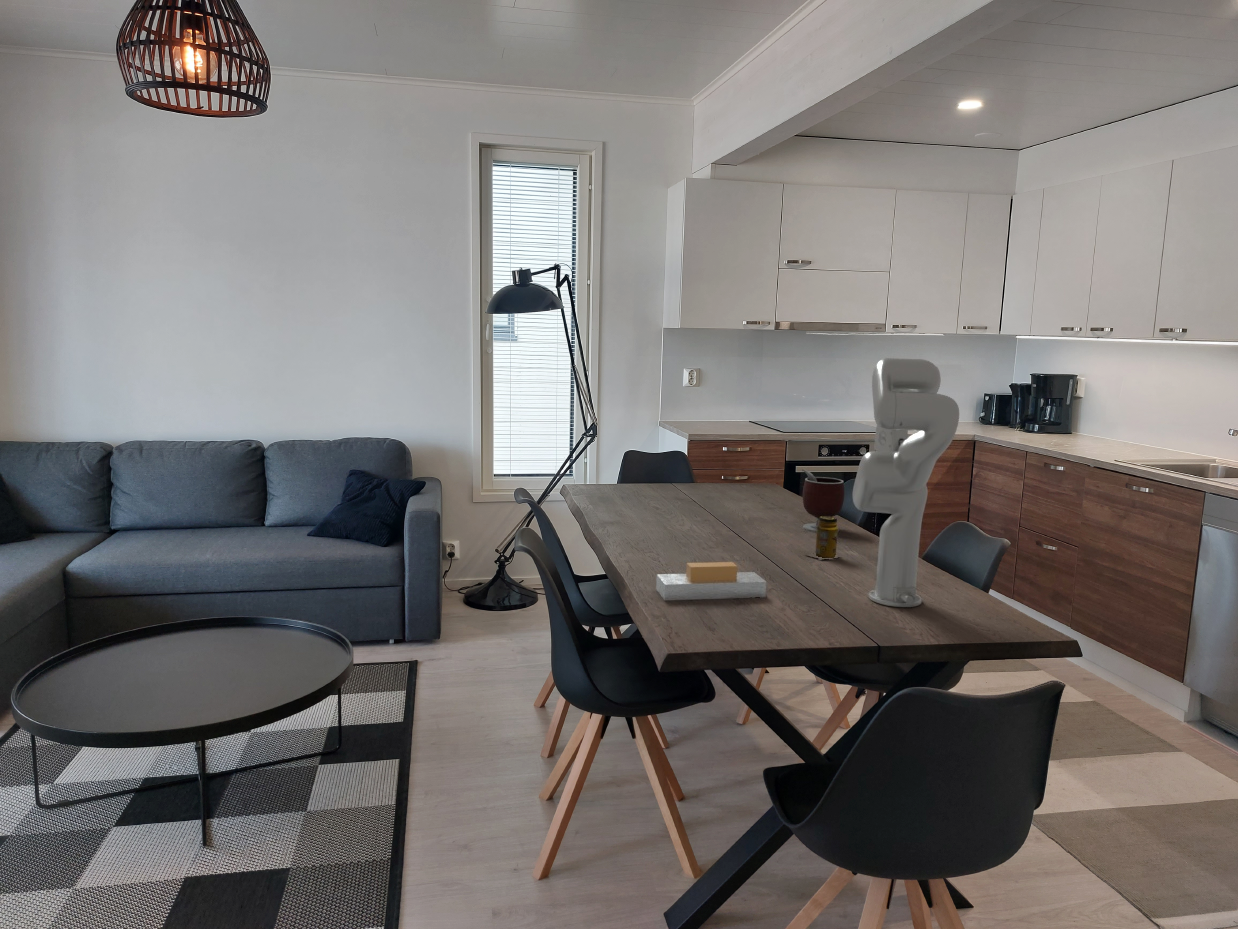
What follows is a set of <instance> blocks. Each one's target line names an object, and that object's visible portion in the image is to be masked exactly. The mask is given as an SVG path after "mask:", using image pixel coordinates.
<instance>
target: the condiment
mask: <svg viewBox="0 0 1238 929" xmlns="http://www.w3.org/2000/svg"><path fill="white" fill-rule="evenodd" d="M837 525H838V518H836V517H835V516H833V517H831V516H821V517H819V524H818V526H817V532H816V537H815V538H816V539H815V552H814V553H816V556H818V557H822V558H834V557H836V556H837V545H838V543H837V542H838V533H839V532H838V528H837V527H838V526H837Z"/></svg>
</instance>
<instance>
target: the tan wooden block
mask: <svg viewBox="0 0 1238 929" xmlns="http://www.w3.org/2000/svg"><path fill="white" fill-rule="evenodd" d="M737 572H738V565H736V564H735V563H734V562H733V561H721V562H719V561H718V562H711V561H710V562H686V572H685V574H686V577H687V578H688V579H689V580H690V581H707V580H737Z"/></svg>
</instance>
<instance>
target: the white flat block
mask: <svg viewBox="0 0 1238 929" xmlns="http://www.w3.org/2000/svg"><path fill="white" fill-rule="evenodd" d="M655 581H656V582H655V583H656V586H655V591H656V592H657V593H658V594H659V595H660V597H661V598H662V599H663V600H664V601H688V600H690V601H691V600H717V599H718V600H721V599H724V600H725V599H726V600H727V599H748V598H749V599H754V598H755V597H760V598H766V597H767V580H765V579H764V578H762V577H761V576H760V575H758V573H756V572H755V571H748V572H747V571H744V572H743V571H742V572H741V571H739V572H738V571H737V580H707V581H690V580H689V579H688V578H687V577H686V573H665V574H663V573H661V574H656V580H655ZM750 597H752V598H750Z"/></svg>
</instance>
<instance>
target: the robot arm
mask: <svg viewBox="0 0 1238 929" xmlns="http://www.w3.org/2000/svg"><path fill="white" fill-rule="evenodd" d="M871 377H872V378H871V389H872V390H871V392H872V401H873V402H872V403H873V417H874V421H875V423H876V424H875V425H876V429H875V435H874V441H873V442H874V443H873V449H874V450H873V451H868V452H866V453H865V454H864V455H863V456H862V458H861V459H860V462H859V465H858V468H857V472H856V477H855V478H854V479H855V480H854V483H853V488H852V503H853V505H854V506H855V508H856V509H857V510H858V511H861V512H865V513H866V512H867V513H879V514H880V513H881V514H891V515H890V516H889V517H888V518H887V519H886V520H885V521H884V523H883V524H882V525H881V527H880V531H879V536H878V537H879V539H878V550H877V551H878V552H877V565H876V578H875V579H876V580H875V588H874V589H871V590H870V591H868V598H869V600H871V601H873V602H874V603H877V604H880V605H883V606H889V607H896V608H911V607H912V608H914V607H917V606H920V605H921V604H922V597H921V596H920V595H918V594H917V579H918V578H917V577H918V574H917V573H918V564H919V553H920V552H919V550H920V539H921V531H922V521H923V516H924V512H925V508H926V503H927V501H928V500H927V499H928V493H929V492H928V487H927V483H928V481H929V480H930V476H931V475H932V472H933V471H934V470H933V469H934V467H935V465H936V463H937V461H938V459H939V458H940V457H941V456H942V454H944V453H945V451H946V450H947V449H948V447H949V446H950V445H951V443H952V442H953V440H954V437H955V435H956V432H957V430H958V426H959V420H960V407H959V404H958V403H957V401H956V400H955V399H954V398H952V397H950V396H948V395H946V394H941V393H938V392H939V390H940V387H941V373H940V369H939V368H938V366H936V365H935V364H934V363H933V362H931V361H929V360H926V359H924V358H923V359H922V358H895V357H890V358H889V357H888V358H887V357H885V358H882V359H880V360H879V361H878V362H877V363H876V364H875V367H874V368H873V372H872V376H871ZM908 431H915V433H912V434H910V436H909V435H908V434H909V432H908Z"/></svg>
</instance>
